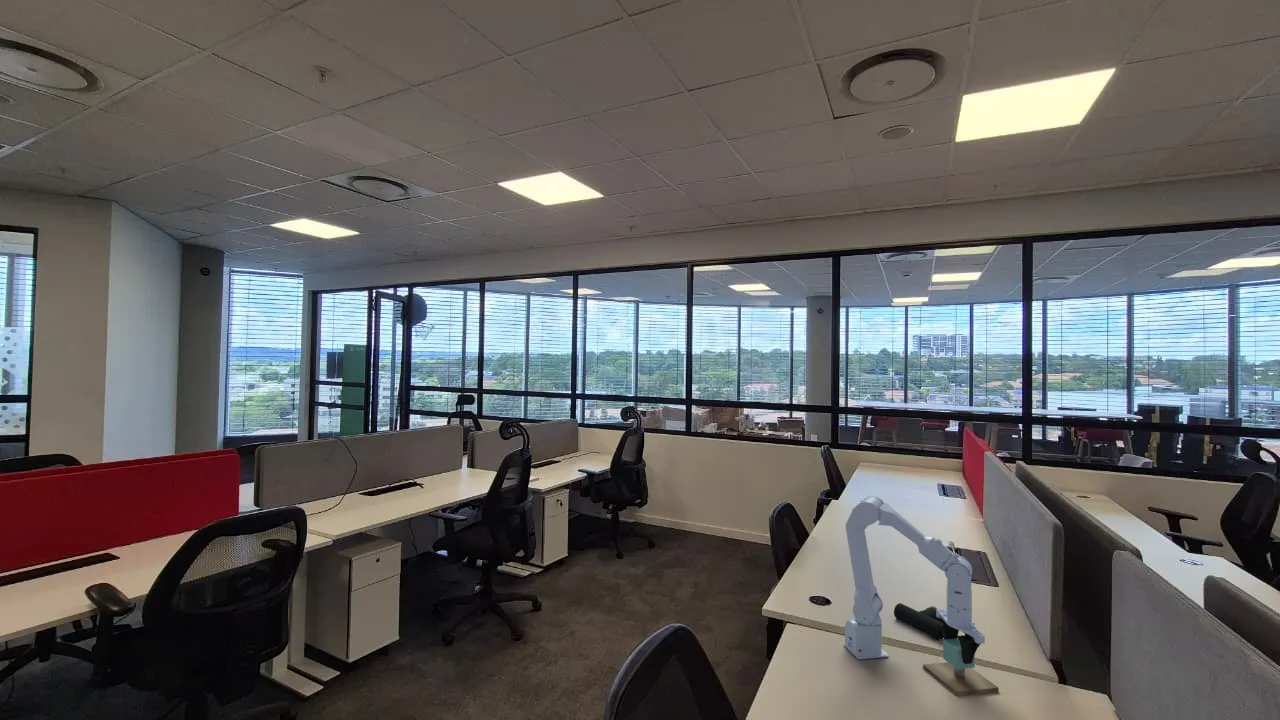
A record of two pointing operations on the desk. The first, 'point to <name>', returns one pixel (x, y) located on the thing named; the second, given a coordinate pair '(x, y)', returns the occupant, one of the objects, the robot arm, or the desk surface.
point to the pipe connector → (920, 619)
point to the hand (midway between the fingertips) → (959, 657)
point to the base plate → (960, 679)
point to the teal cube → (955, 654)
